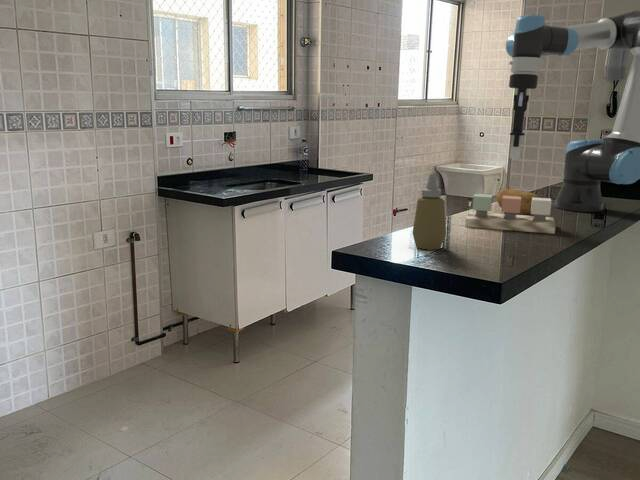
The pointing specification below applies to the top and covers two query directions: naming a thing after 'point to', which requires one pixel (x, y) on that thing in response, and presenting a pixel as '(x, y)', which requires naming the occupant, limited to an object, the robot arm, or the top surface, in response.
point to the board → (510, 223)
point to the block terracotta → (511, 206)
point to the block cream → (540, 208)
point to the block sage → (482, 204)
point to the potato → (525, 196)
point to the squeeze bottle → (430, 217)
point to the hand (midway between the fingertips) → (514, 158)
